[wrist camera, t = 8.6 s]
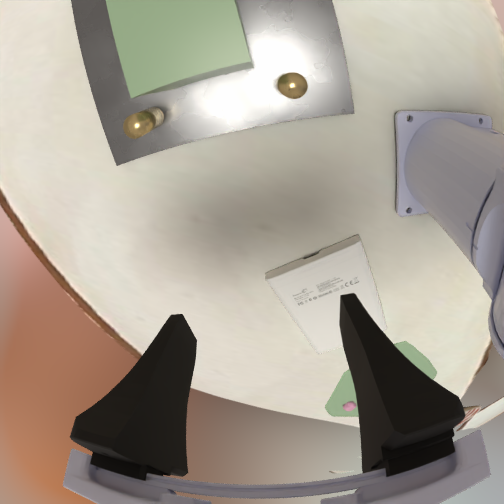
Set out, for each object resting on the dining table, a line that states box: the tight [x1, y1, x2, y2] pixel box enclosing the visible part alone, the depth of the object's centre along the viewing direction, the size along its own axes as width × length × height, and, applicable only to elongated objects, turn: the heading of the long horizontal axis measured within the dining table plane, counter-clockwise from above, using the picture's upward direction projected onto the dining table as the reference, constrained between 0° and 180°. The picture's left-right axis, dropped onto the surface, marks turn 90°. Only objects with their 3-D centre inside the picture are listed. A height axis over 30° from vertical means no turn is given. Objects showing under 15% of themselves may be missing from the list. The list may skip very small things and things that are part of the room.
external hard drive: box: [265, 235, 387, 354], centre depth 25 cm, size 2×8×12 cm
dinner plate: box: [457, 406, 482, 426], centre depth 56 cm, size 27×27×3 cm
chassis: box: [71, 0, 354, 166], centre depth 10 cm, size 16×16×4 cm
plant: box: [325, 341, 437, 417], centre depth 33 cm, size 25×21×9 cm
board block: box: [106, 0, 254, 98], centre depth 9 cm, size 5×8×6 cm, turn 13°
